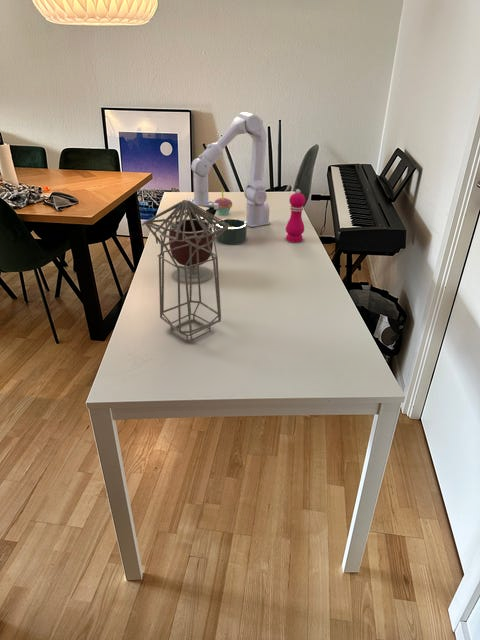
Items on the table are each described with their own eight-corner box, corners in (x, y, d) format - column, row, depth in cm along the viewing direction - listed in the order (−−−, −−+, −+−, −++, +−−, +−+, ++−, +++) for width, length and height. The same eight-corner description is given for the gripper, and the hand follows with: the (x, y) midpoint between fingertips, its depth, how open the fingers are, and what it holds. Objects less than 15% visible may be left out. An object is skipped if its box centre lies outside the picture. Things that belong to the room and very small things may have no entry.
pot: (236, 232, 184) (237, 216, 181) (251, 241, 176) (252, 225, 172) (211, 236, 179) (210, 221, 176) (225, 246, 171) (225, 230, 167)
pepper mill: (282, 241, 177) (285, 190, 166) (289, 235, 182) (292, 185, 172) (299, 244, 174) (303, 192, 163) (305, 238, 179) (310, 188, 169)
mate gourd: (207, 264, 156) (206, 208, 146) (218, 281, 145) (217, 221, 134) (163, 269, 152) (158, 211, 142) (170, 287, 141) (166, 226, 130)
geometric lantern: (197, 311, 128) (192, 188, 110) (232, 333, 118) (233, 202, 100) (149, 330, 119) (135, 199, 101) (183, 356, 109) (175, 216, 91)
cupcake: (231, 217, 201) (232, 190, 195) (213, 216, 201) (212, 189, 195) (232, 211, 208) (232, 185, 202) (214, 210, 209) (213, 184, 202)
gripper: (180, 190, 176) (181, 223, 183) (212, 195, 171) (212, 229, 178) (189, 186, 182) (190, 218, 189) (221, 191, 176) (221, 224, 183)
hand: (202, 223), depth 184 cm, fingers open, 7 cm apart
